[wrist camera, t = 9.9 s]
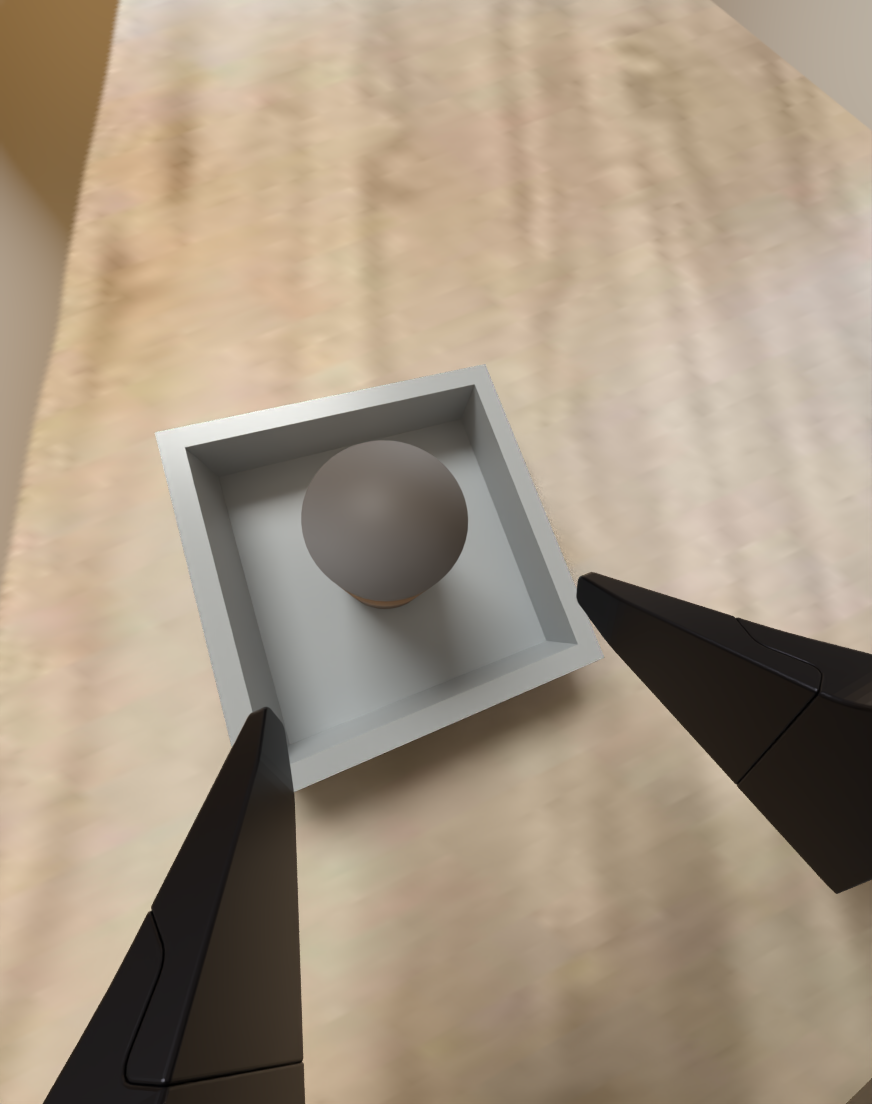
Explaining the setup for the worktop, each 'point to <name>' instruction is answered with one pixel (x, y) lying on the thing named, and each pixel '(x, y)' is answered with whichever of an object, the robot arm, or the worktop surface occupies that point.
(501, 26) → the worktop surface
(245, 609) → the bin
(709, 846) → the worktop surface
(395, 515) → the spice jar
